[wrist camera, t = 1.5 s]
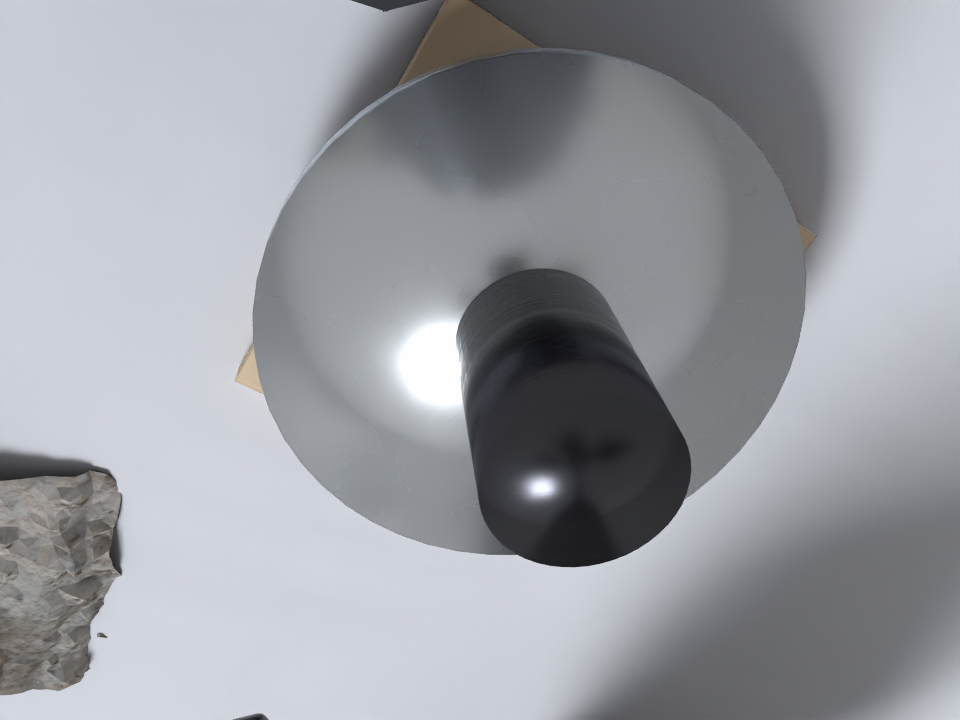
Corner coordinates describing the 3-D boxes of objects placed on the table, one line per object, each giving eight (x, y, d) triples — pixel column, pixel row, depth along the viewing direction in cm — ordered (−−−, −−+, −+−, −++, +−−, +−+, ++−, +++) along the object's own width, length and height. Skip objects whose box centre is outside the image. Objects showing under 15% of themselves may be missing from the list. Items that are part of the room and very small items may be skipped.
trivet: (803, 227, 18) (816, 236, 17) (567, 515, 21) (572, 531, 21) (451, -12, 15) (454, -10, 14) (239, 367, 18) (234, 381, 18)
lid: (876, 221, 17) (1092, 361, 12) (580, 567, 21) (646, 788, 16) (436, -91, 14) (470, -88, 8) (177, 395, 18) (89, 606, 12)
